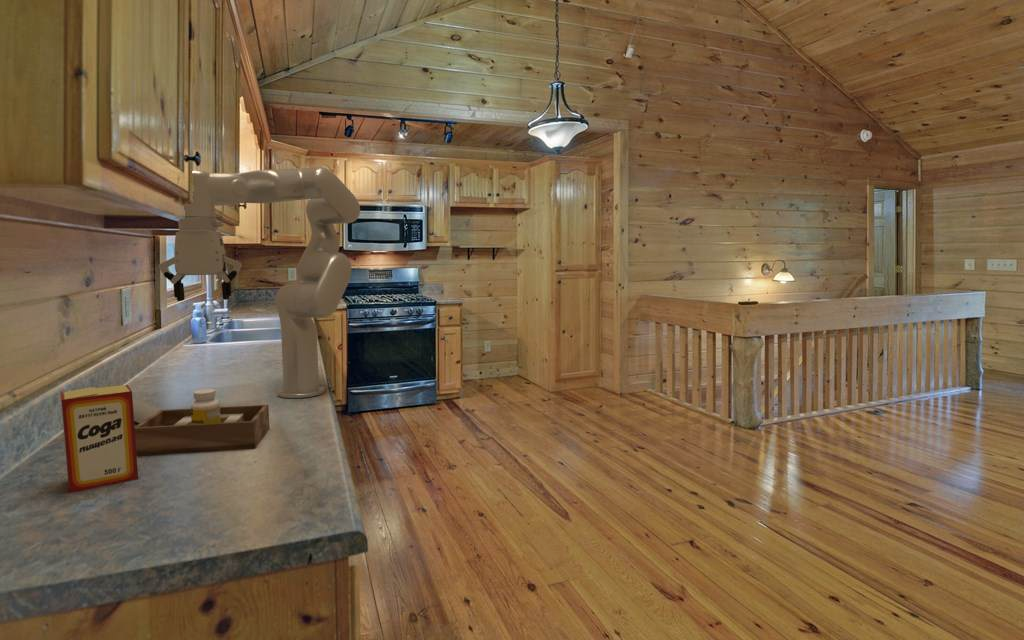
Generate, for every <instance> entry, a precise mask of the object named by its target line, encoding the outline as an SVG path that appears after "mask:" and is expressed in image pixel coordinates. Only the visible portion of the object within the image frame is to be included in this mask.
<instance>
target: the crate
mask: <svg viewBox="0 0 1024 640" xmlns="http://www.w3.org/2000/svg"><path fill="white" fill-rule="evenodd" d="M269 409H270V408H269V404H256V405H255V404H254V405H238V406H236V405H235V406H220V417H221V423H208V424H192V420H191V408H177V409H163V410H160V411H158V412H157V413H155V414H154V415H152V416H151V417H149V418H148V419H146V420H145V421H143V422H142V423H138V424H137V425H134V426H135V440H136V454H137V457H143V456H160V455H162V456H163V455H175V454H176V455H177V454H189V453H191V454H192V453H205V452H206V453H207V452H220V451H223V452H224V451H236V450H237V449H239V450H250V449H252V450H253V449H256V448H257V447H258V445H259V444H260V443H261V441H262V440H263V438H264V437H265V435H266V434H267V433H268V431H269V430H270V412H269V411H270V410H269Z"/></svg>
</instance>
